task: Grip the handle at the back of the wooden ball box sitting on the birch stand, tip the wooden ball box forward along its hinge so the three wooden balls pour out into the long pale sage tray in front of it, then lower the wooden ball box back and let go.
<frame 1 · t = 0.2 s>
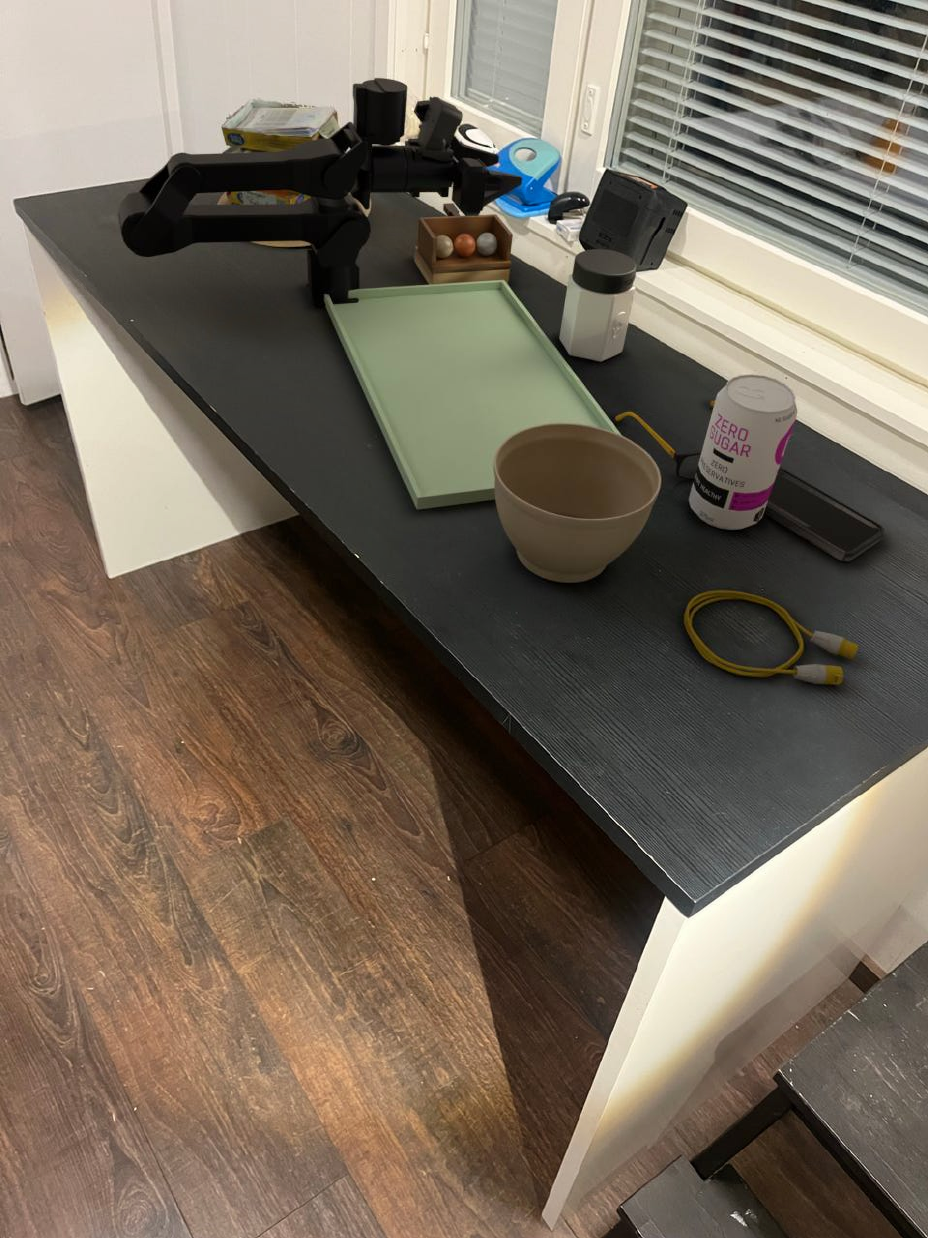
hand: (509, 169, 132), 17 cm above the table, tool horizontal, fingers open, 9 cm apart
ball 1: (442, 246, 141), point 5 cm above the table, touching wooden ball box
supplement can: (724, 511, 106), on the table, touching phone
phone: (806, 517, 107), on the table, touching supplement can
planter bowl: (560, 555, 99), on the table
stand: (460, 272, 145), on the table
tray: (466, 381, 122), on the table
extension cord: (760, 647, 91), on the table
ball 3: (486, 244, 143), point 5 cm above the table, touching wooden ball box
wooden ball box: (459, 236, 143), point 5 cm above the table, hinge at 0.0°, touching ball 1, ball 2, ball 3, stand
ball 2: (464, 245, 142), point 5 cm above the table, touching wooden ball box
jar: (590, 347, 132), on the table
eyeglasses: (692, 445, 116), on the table
stacked yellow boxes: (294, 218, 156), on the table
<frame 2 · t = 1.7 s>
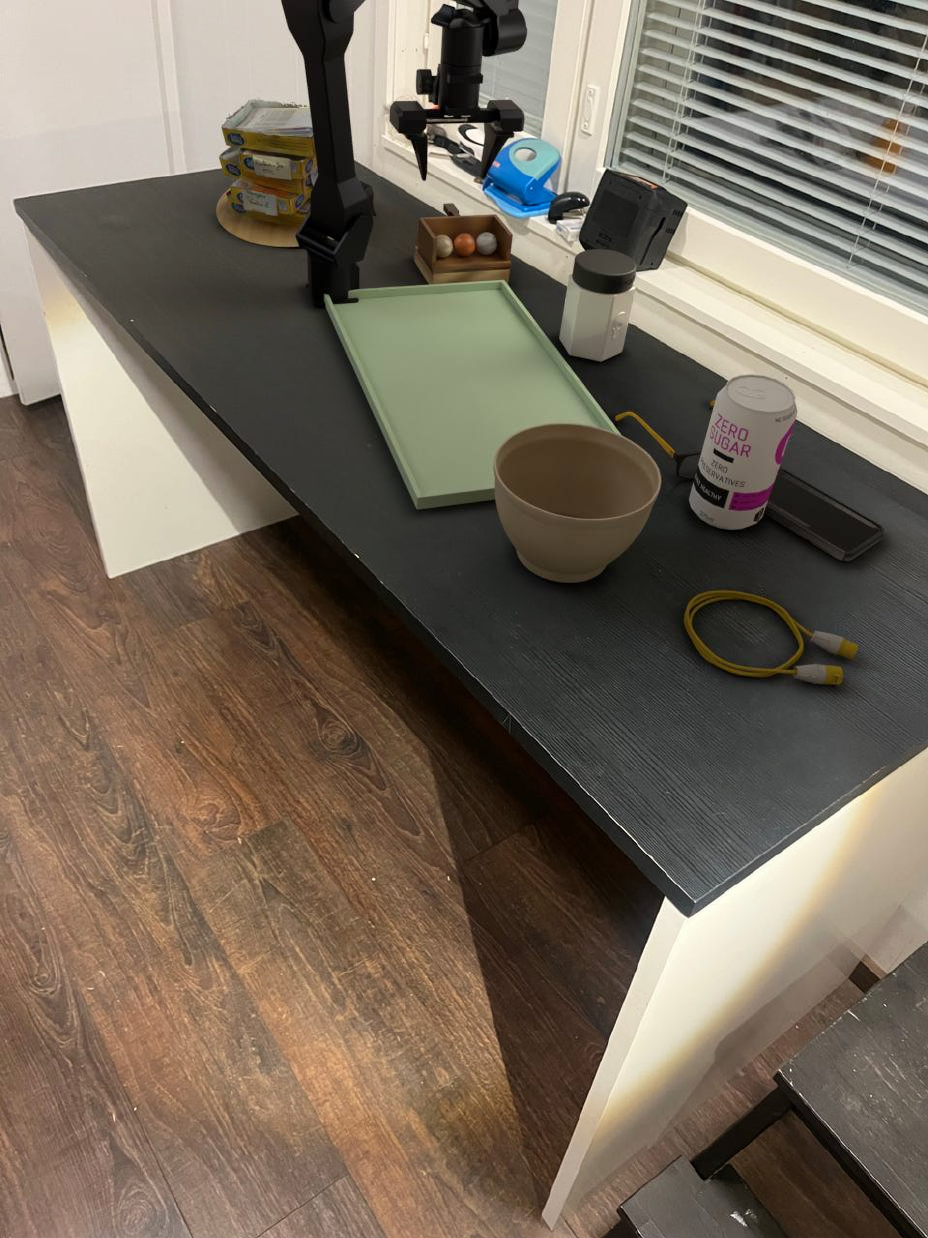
hand: (453, 178, 142), 12 cm above the table, tool pointing down, fingers open, 9 cm apart
ball 1: (441, 246, 141), point 5 cm above the table, tilted 7°, touching wooden ball box
ball 3: (486, 243, 143), point 5 cm above the table, tilted 7°, touching wooden ball box
ball 2: (464, 244, 142), point 5 cm above the table, tilted 7°, touching wooden ball box
everything else where it was.
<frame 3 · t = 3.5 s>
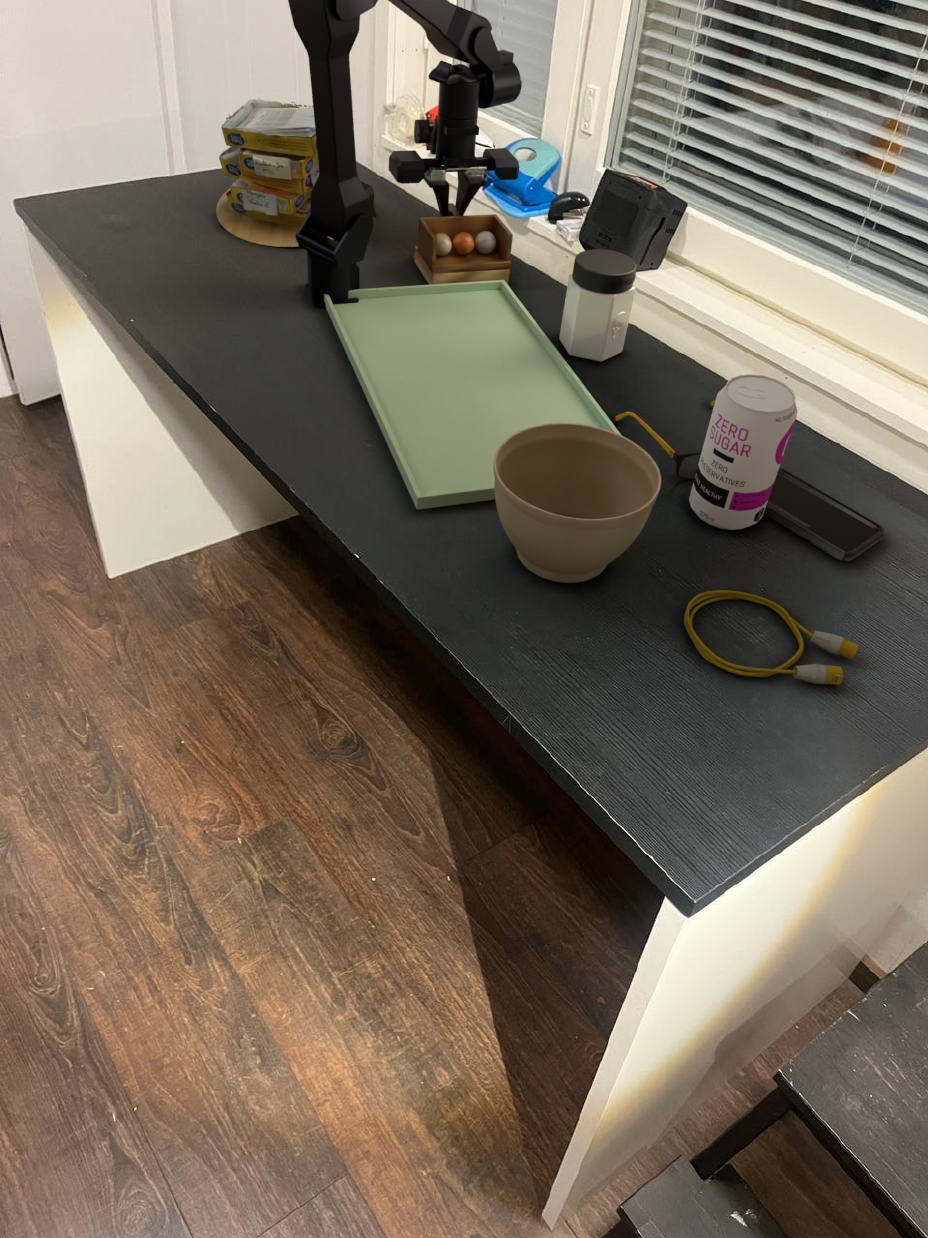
hand: (450, 223, 146), 5 cm above the table, tool pointing down, fingers closed on wooden ball box, 2 cm apart
ball 1: (440, 244, 141), point 5 cm above the table, tilted 25°, touching wooden ball box
supplement can: (724, 511, 106), on the table
phone: (806, 517, 107), on the table
ball 3: (485, 242, 143), point 5 cm above the table, tilted 25°, touching wooden ball box
wooden ball box: (459, 236, 143), point 5 cm above the table, hinge at 0.0°, touching ball 1, ball 2, ball 3, gripper, stand
ball 2: (463, 243, 142), point 5 cm above the table, tilted 25°, touching wooden ball box
everything else where it was.
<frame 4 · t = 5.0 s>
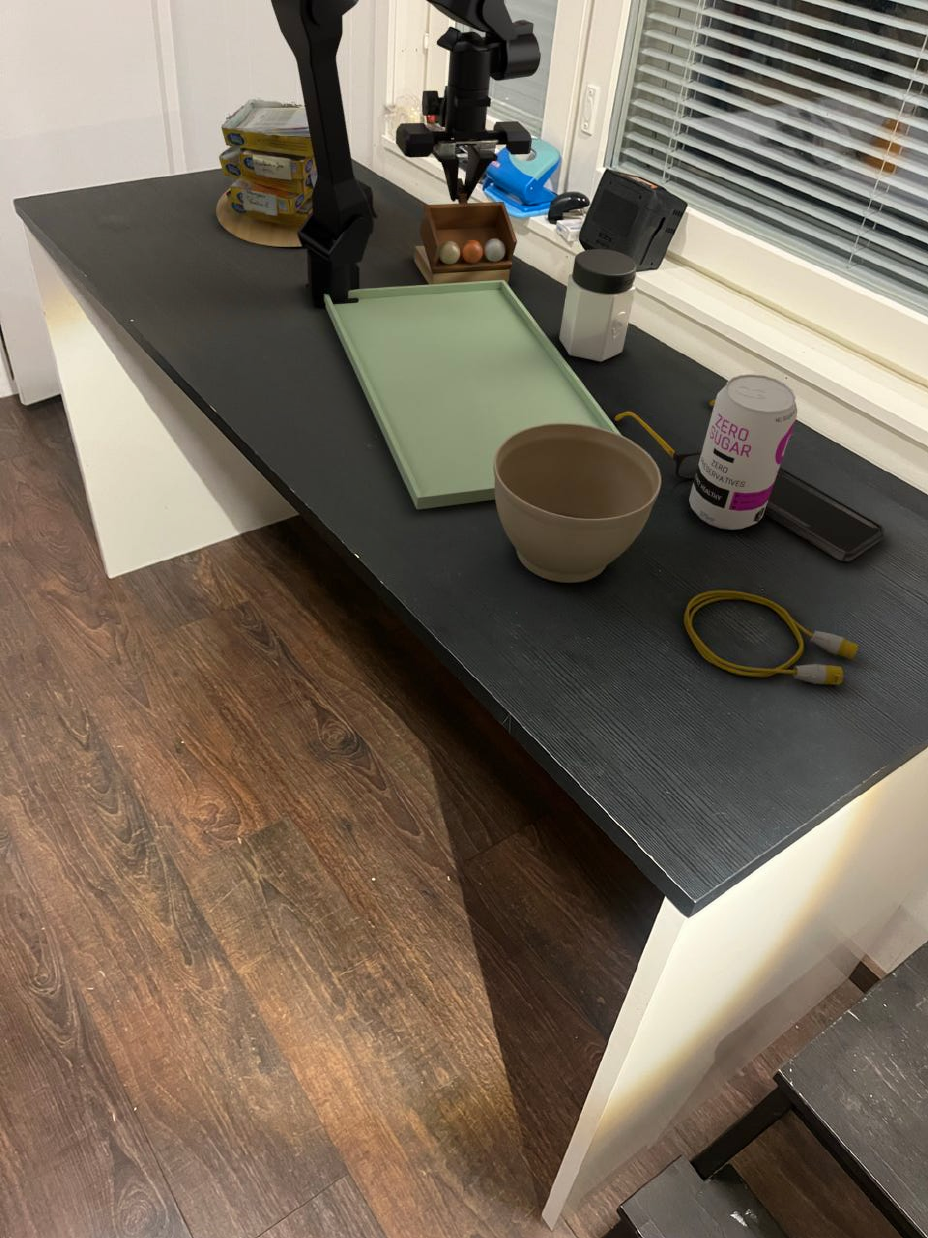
hand: (459, 200, 141), 10 cm above the table, tool pointing down, fingers closed on wooden ball box, 2 cm apart
ball 1: (449, 252, 138), point 5 cm above the table, tilted 108°, touching wooden ball box
supplement can: (724, 511, 106), on the table, touching phone
phone: (806, 517, 107), on the table, touching supplement can
ball 3: (494, 250, 140), point 5 cm above the table, tilted 108°, touching wooden ball box
wooden ball box: (464, 224, 140), point 7 cm above the table, hinge at 23.6°, touching ball 1, ball 2, ball 3, gripper, stand
ball 2: (471, 251, 139), point 5 cm above the table, tilted 108°, touching wooden ball box
everything else where it was.
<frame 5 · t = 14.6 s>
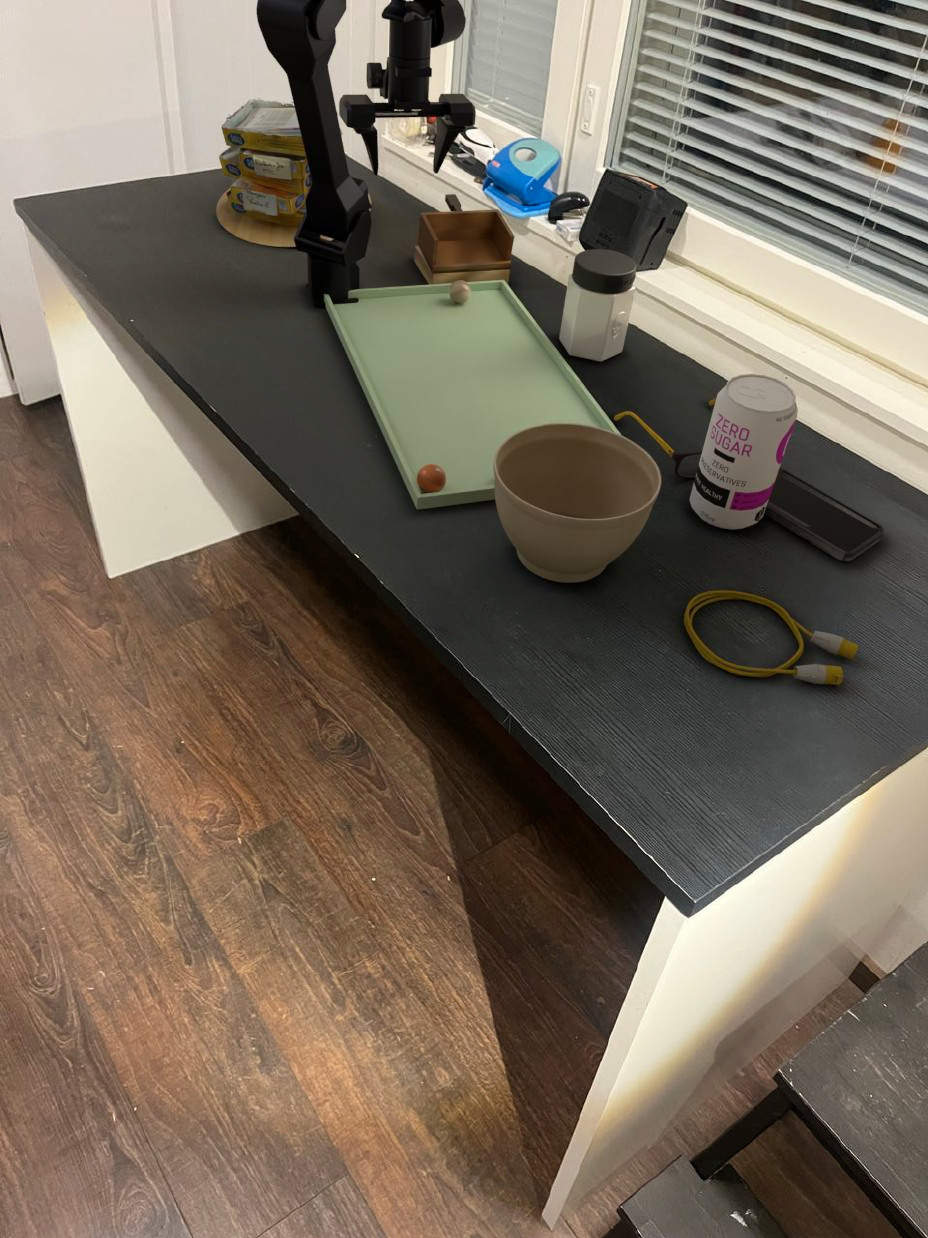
hand: (405, 173, 141), 12 cm above the table, tool pointing down, fingers open, 9 cm apart
ball 1: (460, 291, 136), point 2 cm above the table, tilted 21°, touching tray
ball 3: (507, 468, 105), point 2 cm above the table, tilted 55°, touching tray
wooden ball box: (461, 232, 142), point 6 cm above the table, hinge at 7.4°
ball 2: (431, 478, 103), point 2 cm above the table, tilted 35°, touching tray
everything else where it was.
at the end: ball 1 inside the target area on the tray (21.1 cm from its centre), point 2.0 cm above the tray's base; ball 2 inside the target area on the tray (25.1 cm from its centre), point 2.0 cm above the tray's base; ball 3 inside the target area on the tray (22.6 cm from its centre), point 2.0 cm above the tray's base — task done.
